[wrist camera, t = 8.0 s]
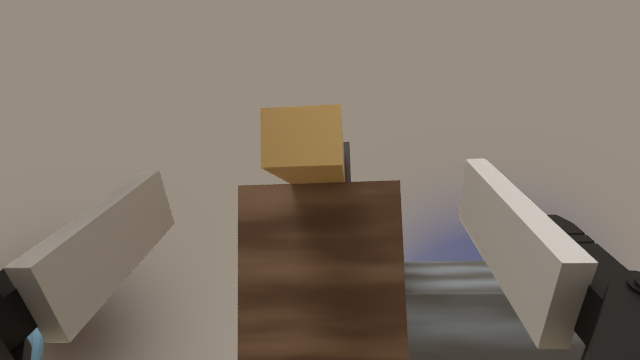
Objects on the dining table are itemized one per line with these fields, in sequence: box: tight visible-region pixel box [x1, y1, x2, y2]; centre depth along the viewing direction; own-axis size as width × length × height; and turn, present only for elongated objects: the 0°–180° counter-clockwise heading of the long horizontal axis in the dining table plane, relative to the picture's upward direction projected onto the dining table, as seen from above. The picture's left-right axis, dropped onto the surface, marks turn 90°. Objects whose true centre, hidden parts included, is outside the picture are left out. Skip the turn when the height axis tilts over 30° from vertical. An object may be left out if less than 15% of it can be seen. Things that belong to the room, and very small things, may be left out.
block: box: [261, 104, 351, 184], centre depth 25 cm, size 18×5×4 cm, turn 175°
